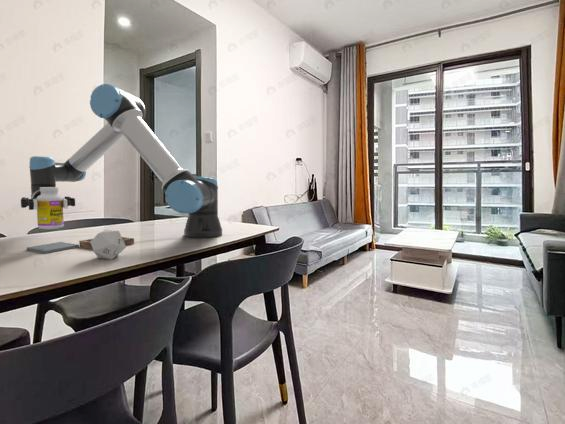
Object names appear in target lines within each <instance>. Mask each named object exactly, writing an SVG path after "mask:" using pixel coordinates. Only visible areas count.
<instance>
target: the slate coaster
mask: <svg viewBox="0 0 565 424" xmlns="http://www.w3.org/2000/svg"><path fill="white" fill-rule="evenodd" d="M76 248H80V244H78V243H77V244H76V243H71V242H65V241H58V242H57V241H56V242H52V243H45V244H40V245H34V246H33V245H32V246H27V247H26V251H29V252H36V253H41V254H50V253H54V252H61V251H66V250H71V249H76Z"/></svg>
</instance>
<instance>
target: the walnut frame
mask: <svg viewBox="0 0 565 424" xmlns="http://www.w3.org/2000/svg"><path fill="white" fill-rule="evenodd" d="M121 237H122V239H123V241H124V243H125V245H126V247H127V246H133V245H134V244H135V238H134V237H127V236H121ZM92 239H93V238H88V239H83V240H79V244H78V245H79V248H86V249H89V250H90V249H91V250H93V248H92V245H91V243H90V241H91V240H92Z"/></svg>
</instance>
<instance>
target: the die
mask: <svg viewBox="0 0 565 424" xmlns="http://www.w3.org/2000/svg"><path fill="white" fill-rule="evenodd" d="M122 237H123V236H122V235H121V232H120V231H119V230H109V229H104V230H102V231H99V232H98V233H97V234H96V235H95V236H94V237H93V238H91V239H92V240H91V241H90V243H91V245H92V248H93V249H92V250H93V253H94V254H95V255H96V257H97V258H98V259H104V260H113V259H114V258H116V257H117V256H119V254H121V253H122V252H123V251H124V250H125V249H126V248H127V246H126V245H125V243H124V241H123V239H122Z"/></svg>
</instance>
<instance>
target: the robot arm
mask: <svg viewBox="0 0 565 424" xmlns="http://www.w3.org/2000/svg"><path fill="white" fill-rule="evenodd" d="M89 105H90V106H89V107H90V109H91V111H92V112H93V113H94V115H96V116H97V117H99V118H101V119H105V121H106V122H107V123H106V124H105V125H104V126H103V127H101V129H100V130H99V131H98V132H96V133H95V134H94V135H93V136H92V137H91V138H90V139H88V141H86V142H85V143H84V144H83V145H82V146H81V147H80V148H79V149H78V150H77V151H76V152H75V153H73V154H72V156H70V158H68V159H67V160H66V161H65V162H63V163H62V162H56V161H55V159H54V157H52V156H51V157H50V156H36V155H35V156H31V157H29V173H30V174H29V175H30V190H31V191H30V193H31V194H30V198H29V197H21V198H20V208H21V209H22V208H23V209H24V208H28V211H30V210H31V211H33V210H35V211H37V210H38V206H37V200H36V198H37V197H38V196H39V195H41V192H40V187H57V186H56V185H57V184H56V182H57V183H58V182H63V183H64V182H65V183H66V182H68V183H69V182H70V183H75V182H80V181H83V180H85V177H86V175H87V170H89V169H90V168H91V167H92V166H93V165H94V164H95V163H97V162H98V161H99V160H100V159H101V158H103V156H105V155H106V153H108V151H110V150H111V149H112V148H113V147H114V146H115V145H117V144H118V143H119V142H120V141H121V140H122V139H123V138H124V137H125V138H126V140H127V141H128V142H129V143H130V145H131V146H132V147H133V148H134V149H135V152H137V153H138V155H139V156H140V157H141V158H142V159H143V161H144V162H145V163H146V164H147V166H148V167H149V168H150V169H151V170H152V172H153V173H154V174H155V175H156V177H157V178H158V179H159V181H160V182H161V183H162V186H161V190H162V191H163V192H164V193H165V201H166V203H167V206H168V207H169V208H170V209H172V211H175V213H176V212H177V214H178V213H180V214H186V215H188V216H187V219H186V223H185V226H184V227H185V228H184V230H183V235H184V237H188V238H193V239H194V238H196V239H197V238H200V239H202V238H204V239H205V238H215V237H220V236H222V235H223V228H222V225H221V221H220V218H219V213H218V212H219V211H218V210H219V209H218V208H219V205H218V203H219V202H218V201H219V199H218V198H219V197H218V195H219V193H218V190H219V186H218V180H217V179H216V178H213V177H206V176H194V175H193V174H192V172H191V171H190V170H189V169H184V168H182V166H181V165H180V164H179V163H178V162H177V160H176V159H175V158H174V157H173V156H172V154H171V153H170V151H168V150H167V148H166V147H165V145H164V144H163V143H162V142H161V140H159V138H158V137H157V135H156V134H155V133H154V132H153V131H152V129H151V128H150V127H149V126H148V124H147V123H146V122H145V118H146V106H145V104H144V102H143V101H142V100H141V99H140V98H139V97H138V96H136V95H135V94H132V93H130V92H128V91H126V90H123V89H121V88H119V87H118V86H116V85H112V84H108V83H103V84H100V85H98V86H96V87H95V88H94V89H93V90H92V92H91V94H90V100H89ZM62 199H63V209H68V208H69V207H70V206H71V207H76V198H75V197H71V196H64V197H62Z"/></svg>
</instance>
